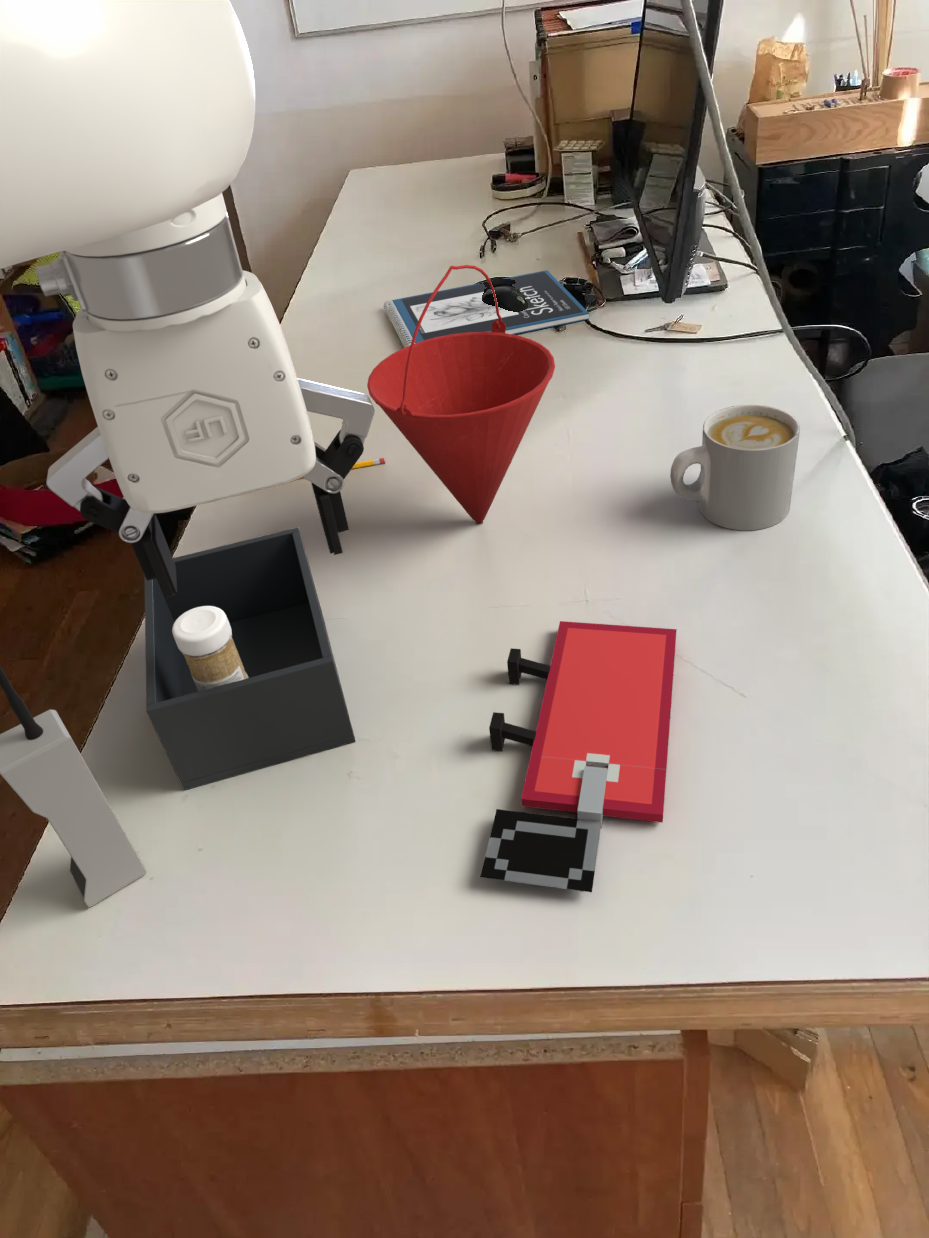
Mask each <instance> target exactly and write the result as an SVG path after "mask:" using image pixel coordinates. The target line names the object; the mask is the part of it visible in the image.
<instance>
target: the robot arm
mask: <svg viewBox="0 0 929 1238" xmlns="http://www.w3.org/2000/svg"><path fill="white" fill-rule="evenodd" d="M243 31H244V30H243V28H242V26H241V23H240V21H239V19H238V16H237V14H236V12H235V10H234V7H233V5H232V4H231V1H230V0H0V270H1V269H4V268H8V267H12V266H15V265H19V264H22V263H24V262H28V261H31V260H36V259H38V258H42V257H46V256H50V255H52V254H57V253H58V258H56V259H52V260H51V261H50V263H48V264H44V265H39V266H35V273H36V274H35V275H36V278H37V281H38V284H39V286H40V289H41V291H42V293H43V295H44V296H45V297H51V296H56V295H62V296H63V297H68V296H71V297H72V300H73V301H74V302H77V301H78V304H79V306H80V309H79V310H78V311H77V313H76V315H75V317H74V319H73V321H72V330H73V339H74V344H75V349H76V353H77V358H78V362H79V366H80V371H81V375H82V378H83V379H82V380H83V382H84V385H85V389H86V393H87V396H88V400H89V402H90V406H91V409H92V413H93V416H94V418H95V422H96V425H97V426H96V427H95V428H94V429H93V430H92V431H90V433H88V434H87V435H86V436H84V438H82V439H81V440H79V442H77V443H76V444H75V445H74V446H73V447H71V448H70V449H69V450H68V451H67V452H66V453H64V454H63V455H62V456H60V458H58V459H57V460H56V461H55V462H54V463H52V464H51V465H50V466H49V467H48V470H47V475H46V483H45V484H46V487H47V488H48V489H49V490H50V491H51V492H53V494H55V495H56V496H58V497H59V498H60V499H62V501H64V502H65V503H67V505H69V506H70V507H72V508H75V509H76V510H77V511H78V512H79V513H80V515H81V517H82V518H83V519H84V520H86V521H88V522H91V523H93V524H95V525H98V526H100V527H102V528H104V529H107V530H109V531H112V532H113V533H114V532H115V533H116V534H118V536H119V538H120V539H121V541H123V542H125V543H128V544H131V546H132V549H133V551H134V555H135V556H136V558H137V560H138V563H139V565H140V568H141V570H142V573H143V575H145V577H146V579H147V580H148V581H149V580H153V579H157V581H158V583H159V585H160V588H161V590H162V593H163V595H164V597H165V598H168V597H171V596H174V593H177V579H176V567H175V563H174V560H173V558H174V557H173V556H172V553H171V550H170V548H169V545H168V542H167V540H166V537H165V534H164V533H163V529H162V527H161V525H160V522H159V519H158V517H157V515H156V514H164V513H170V512H174V511H179V510H183V509H188V508H192V507H196V506H200V505H206V504H209V503H213V502H218V501H222V500H227V499H230V498H235V497H238V496H243V495H246V494H251V493H255V492H259V491H263V490H267V489H270V488H274V487H275V488H276V487H278V486H279V487H280V486H282V485H285V484H289V483H292V482H294V481H297V480H300V479H299V478H301V477H304V478H303V479H305V480H307V481H309V482H310V484H311V487H312V491H313V495H314V500H315V504H316V507H317V510H318V515H319V519H320V523H321V526H322V530H323V534H324V537H325V541H326V544H327V547H328V551H329V554H333V555H334V556H337V555H340V554H343V552H344V551H343V548H342V543H341V540H340V535H339V533H343V532H347V531H350V527H349V523H348V519H347V515H346V510H345V505H344V501H343V496H342V493H341V491H343V488H344V487H345V479H346V477H347V476H348V475H349V474H350V472H351V469H352V468H353V466H354V465H355V463H357V462H359V459H360V458H361V457H362V455H363V453H364V450H365V447H364V445H365V441H366V439H367V438H368V434H369V432H370V429H371V425H372V422H373V419H374V416H375V406H374V405H373V403H372V400H371V397H370V396H368V395H367V394H365V393H362V392H358V391H353V390H350V389H345V388H342V387H341V388H340V387H337V386H332V385H329V384H324V383H319V382H315V381H311V380H306V379H303V378H298V376H297V371H296V369H295V366H294V363H293V359H292V356H291V353H290V349H289V347H288V344H287V340H286V338H285V335H284V332H283V330H282V326H281V323H280V321H279V319H278V317H277V315H276V312H275V310H274V307H273V305H272V303H271V300H270V297H269V296H268V294H267V292H266V290H265V288H264V286H263V284H262V282H261V281H260V280H259V278H258V276H257V275H255V274H254V273H253V272H250V271H249V270H243V268H242V264H241V260H240V257H239V253H238V248H237V245H236V241H235V237H234V234H233V230H232V226H231V222H230V218H229V214H228V210H227V207H226V203H225V199H224V195H223V192H224V191H226V190H227V189H228V188H229V187H230V186H231V184H232V183H234V182H233V181H234V180H235V179H236V177H237V176H238V175H239V173H240V170H242V169H241V168H242V167H243V164H244V163H245V160H246V158H247V155H248V152H249V150H250V146H251V144H252V139H253V133H254V127H255V117H256V84H255V78H254V69H253V63H252V59H251V55H250V50H249V47H248V43H247V41H246V37H245V34H244V32H243ZM308 412H309V413H313V414H319V415H323V416H327V417H332V418H336V419H341V420H342V422H341V428H340V429H339V431H338V432H337V433H336V435H335V436H334V438H333V439H332V441H330V443H329V445H328V446H327V448H325V447H323V446H322V445H321V444H319V443H318V442H316V441H315V439H314V434H313V430H312V425H311V420H310V418H309V413H308ZM107 460H109V462H110V465H111V468H112V472H113V474H114V476H115V479H116V482H117V484H118V487H119V489H120V492H121V493H122V496H123V497H120V496H118V495H116V494H113V493H111V492H109V491H106V490H104V489H102V488H100V487H98V486H93V485H92V483H91V481H89V480H88V479H87V478H88V476H89V475H91V474H92V473H93V472H94V471H95V470H97V469H98V468H99V467H101V465H103V464H104V463H105V462H106V461H107ZM352 470H353V469H352ZM301 479H302V478H301Z"/></svg>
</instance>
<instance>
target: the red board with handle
mask: <svg viewBox="0 0 929 1238" xmlns="http://www.w3.org/2000/svg"><path fill="white" fill-rule="evenodd" d="M676 641H677V628H665V627H664V628H663V627H648V626H634V625H619V624H607V623H593V622H577V621H565V620H564V621H563V620H560V621H559V624H558V629H557V633H556V637H555V642H554V647H553V652H552V655H551V660H550V665H549V664H545V663H541V662H538V661H534V660H531V659H527V658H524V657H522V650H521V648H513V647H510V649H509V653H508V657H507V661H506V664H507V665H506V666H507V676H508V685H520V681H521V677H522V674H524V675H525V674H526V675H528V676H532V677H536V678H540V679H543V680H546V683H545V688H544V693H543V696H542V701H541V706H540V710H539V715H538V720H537V724H536V728H535V730H533V729H529V728H526V727H522V726H518V725H515V724H511V723H507V722H506V719H505V713H504V712H497V711H495V712H492V716H491V720H490V723H489V727H488V730H489V738H490V748H491V751H497V752H503V749H504V745H505V742H506V740H508V741H513V742H516V743H518V744H519V743H520V744H522V745H523V744H524V745H527V746H529V747H531V752H530V756H529V760H528V765H527V769H526V775H525V779H524V783H523V788H522V791H521V792H522V793H521V798H520V801H521V802H520V803H521V807H526V808H533V809H543V810H550V811H560V812H566V813H567V812H568V813H576V814H577V817H570V816H569V817H567V816H561V815H551V814H544V813H536V812H535V813H534V812H528V811H527V812H526V811H517V810H509V809H500V808H496V810H495V814H494V818H493V821H492V825H491V829H490V835H489V838H488V843H487V847H486V850H485V851H486V852H485V855H484V859H483V863H482V868H481V871H480V876H479V878H480V879H481V878H482V879H488V880H489V879H490V880H497V881H505V882H511V883H520V884H526V885H534V886H540V887H541V886H542V887H549V888H556V889H564V890H571V891H579V892H584V893H585V892H587V893H593V889H594V880H595V873H596V866H597V857H598V851H599V844H600V835H601V829H602V828H603V820H604V817H612V818H618V819H619V818H620V819H627V820H629V819H630V820H636V821H638V820H639V821H647V822H653V823H654V822H655V823H663V821H664V811H665V810H664V809H665V794H666V780H667V768H668V767H667V766H668V755H669V753H668V752H669V742H670V741H669V738H670V725H671V712H672V699H673V683H674V671H675V670H674V669H675V657H676V656H675V655H676V644H677V642H676Z"/></svg>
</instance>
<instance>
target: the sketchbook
mask: <svg viewBox="0 0 929 1238" xmlns="http://www.w3.org/2000/svg"><path fill="white" fill-rule="evenodd" d="M503 279H511V280H515V282H516V283H515V284H512V286H513V287H515V289H519V291H520V292H521V294H522V295H524V297H525V300H526V301H527V303H528V308H527V309H525V310H523V311H520V312H513V311H508V310H505V309H503V308H500V307H498V308H499V314H500V316H501V318H502V322H504V323H505V325H506V332H505V333H507V334H513V335H519V334H523V333H529V332H533V331H538V330H542V329H548V328H553V327H560V326H563V325H569V324H572V323H577V322H583V321H588V320H590V312H589V311H588V310H587V309H586V308H585V307H584V306H583V305H582V304H581V303H580V302H579V301H578V300H577V299H576V298H575V297H574V296H573V295H572V294H571V293H570V292H569V290H567V289H566V288H565V286H564V285H562V284H561V282H559V280H557V278H556V277H555V276H554V275H553V274H551V272H550V271H549V270H548V269H546V270H541V271H535V272H529V273H525V274H520V275H514V276H509V277H505V278H503ZM484 282H485V281H484ZM484 282H478V283H474V284H473V283H472V284H467V285H463V286H457V287H453V288H452V287H451V288H446V289H442V290H438V291H437V293H436V295H435V296H434V298H433V300H432V301H431V303H430V305H429V307H428V309H427V311H426V313H425V315H424V317H423V319H422V322H421V325H420V327H419V330H418V333H417V336H416V339H415V343H418V342H421V341H424V340H428V339H431V338H435V337H440V336H445V335H450V334H458V333H467V332H491V330H492V324H493V322H494V321H497V320H499V318H498V317H497V314H496V307H495V306H492V305H488V304H486V303H484V302H483V301H482V295H483V293H484V289H486V288H487V287H485V285H484V284H483V283H484ZM480 283H482V284H480ZM433 292H434V291H432V292H431V291H430V292H427V293H422V294H417V295H412V296H406V297H401V298H396V299H389V300H388V299H387V300H385V301H384V303H383V309H384V310H385V313H386V314H387V316H388V319H389V320H390V322H391V325H392V326H393V328H394V330H395V332H396V334H397V336H398V338H399V340H400V342H401V344H402V346H403V348H405V347H407V346H410V345H411V342H412V338H413V335H414V332H415V329H416V326H417V324H418V321H419V318H420V316H421V314H422V312H423V310H424V308H425V306H426V303H427V302H428V300H429V298H430V297H431V295H432V293H433ZM500 328H501V327H500ZM415 343H414V344H415Z"/></svg>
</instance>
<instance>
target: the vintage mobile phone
mask: <svg viewBox="0 0 929 1238" xmlns="http://www.w3.org/2000/svg"><path fill="white" fill-rule="evenodd" d="M0 689H2V691H3V693H4V694H5V696H6V699H7V701H8V705H9V706H10V708H11V710H12V712H13V713H14V715H15V716H16V718H17V720H18V721H19V724H18V725H16V726H14V727H12V728H10V729H8V730H6V731H4V732H2V733H0V776H1V777H2V778H3V779H4V781H6V782H7V784H8V785H9V786H10V787H11V789H12V790H13V791H14V793H16V795H18V797H19V798H20V799H21V800H22V801H23V802H24V804H25V805H26V806H27V807H28V809H30V811H31V812H32V813H33V814H36V815H38V816H41V817H43V818H46V820H47V821H48V822H49V824H50V825H51V827H52V829H53V831H54V832H55V833H56V835H57V836H58V839H60V841H61V843H62V845H63V846H64V847H65V849H66V851H67V852H68V854H69V855H70V860H69V861H70V862H69V874H70V875H71V877H72V880H73V881H74V884H75V886H76V888H77V890H78V892H79V895H80V896H81V898H82V900H83V902H84V903H85V905H86V907H87V908H91V907H94V906H96V905H97V904H99V903H100V902H102V901H104V900H106V899H107V898H109V897H111V896H112V895H114V894H116V893H117V892H119V891H121V890H122V889H124V888H126V887H127V886H129V885H130V884H133V883H134V882H135V881H137V880H139V879H140V878H142V877H144V876H145V875H146V874H147V873H148V872H147V870H146V868H145V866H144V864H143V862H142V861H141V859H140V857H139V856H138V853H137V852H136V850H135V848H134V847H133V845H132V843H131V841H130V839H129V837H128V836H127V833H126V832H125V831H124V829H123V827H122V825H121V824H120V821H119V820H118V818H117V816H116V814H115V813H114V811H113V809H112V807H111V806H110V804H109V803H108V800H107V798H106V796H105V795H104V793H103V791H102V790H101V788H100V786H99V785H98V782H97V781H96V779H95V778H94V776H93V774H92V772H91V770H90V768H89V767H88V765H87V763H86V761H85V759H84V758H83V756H82V754H81V752H80V751H79V749H78V747H77V745H76V744H75V741H74V740H73V738H72V736H71V735H70V733H69V731H68V730H67V728H66V725H65V724H64V722H63V720H62V719H61V717H60V716H59V713H58V711H57V710H55V709H48V710H46V711H44V712H41V713H40V714H38V715H36V716H34V717H33V715H32V714H31V712H30V710H29V708H28V707H27V705H26V704H25V702H24V700H23V698H22V697H21V696H20V695H19V694H18V693H17V692H16V690H15V689H14V687H13V685H12V683H11V682H10V680H9V678H8V676H7V675H6V673H5V672H4V670H3V668H2V667H1V666H0Z"/></svg>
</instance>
